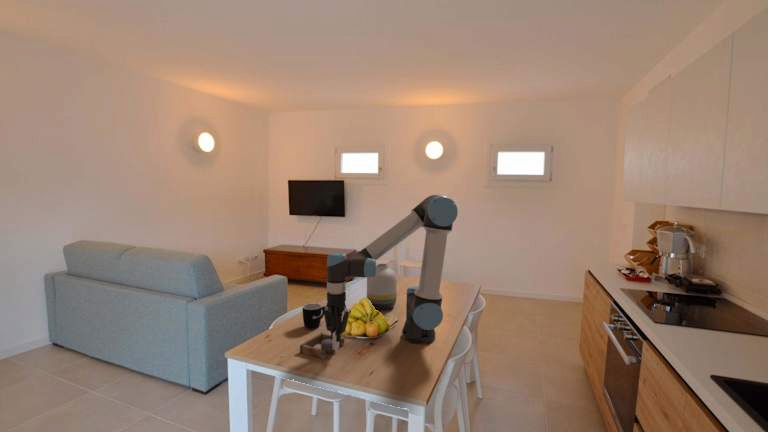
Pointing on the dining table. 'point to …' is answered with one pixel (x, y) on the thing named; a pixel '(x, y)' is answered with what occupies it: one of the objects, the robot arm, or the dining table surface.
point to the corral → (308, 345)
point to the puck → (327, 346)
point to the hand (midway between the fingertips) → (335, 348)
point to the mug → (312, 315)
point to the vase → (382, 287)
